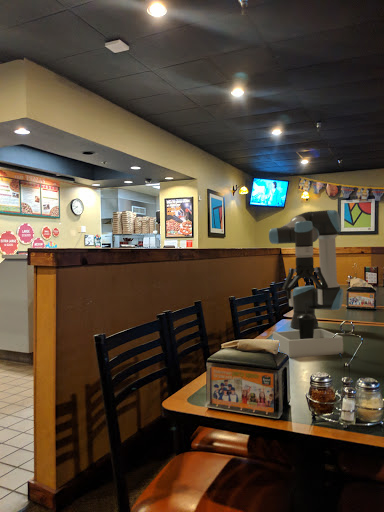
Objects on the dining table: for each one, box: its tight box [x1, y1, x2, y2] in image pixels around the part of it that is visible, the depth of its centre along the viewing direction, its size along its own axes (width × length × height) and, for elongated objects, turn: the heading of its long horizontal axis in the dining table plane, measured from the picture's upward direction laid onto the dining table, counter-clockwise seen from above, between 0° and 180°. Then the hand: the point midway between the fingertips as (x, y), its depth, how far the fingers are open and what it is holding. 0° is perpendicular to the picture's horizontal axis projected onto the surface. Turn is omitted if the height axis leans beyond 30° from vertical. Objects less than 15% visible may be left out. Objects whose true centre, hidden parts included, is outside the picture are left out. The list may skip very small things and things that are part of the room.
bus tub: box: [272, 328, 344, 358], centre depth 174 cm, size 24×18×7 cm
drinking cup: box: [297, 302, 315, 339], centre depth 174 cm, size 8×8×20 cm
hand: (305, 305), depth 175 cm, fingers open, 13 cm apart
